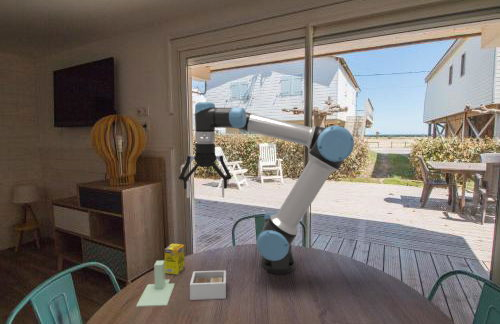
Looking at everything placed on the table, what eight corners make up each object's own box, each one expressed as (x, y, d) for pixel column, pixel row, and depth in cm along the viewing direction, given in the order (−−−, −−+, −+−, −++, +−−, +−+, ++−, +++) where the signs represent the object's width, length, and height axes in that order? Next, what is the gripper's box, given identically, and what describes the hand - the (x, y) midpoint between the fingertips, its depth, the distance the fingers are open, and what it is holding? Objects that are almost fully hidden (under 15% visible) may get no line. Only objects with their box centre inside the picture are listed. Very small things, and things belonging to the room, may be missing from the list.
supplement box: (178, 276, 108) (177, 250, 107) (164, 275, 109) (164, 248, 108) (185, 269, 114) (184, 244, 113) (171, 268, 115) (171, 243, 114)
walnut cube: (207, 288, 98) (207, 278, 98) (206, 294, 95) (206, 284, 94) (196, 288, 98) (196, 278, 98) (195, 295, 94) (195, 284, 94)
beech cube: (222, 288, 99) (222, 277, 99) (221, 294, 95) (221, 283, 95) (211, 288, 99) (211, 277, 98) (210, 294, 95) (210, 283, 94)
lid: (150, 282, 104) (149, 257, 103) (176, 281, 104) (175, 256, 103) (136, 308, 88) (135, 279, 87) (167, 307, 89) (166, 278, 88)
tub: (226, 285, 102) (226, 270, 101) (225, 300, 93) (225, 283, 92) (193, 286, 101) (193, 271, 100) (190, 301, 92) (189, 284, 91)
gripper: (170, 143, 101) (171, 199, 103) (237, 143, 103) (237, 198, 105) (174, 142, 108) (175, 195, 110) (237, 143, 110) (237, 194, 112)
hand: (205, 197), depth 107 cm, fingers open, 13 cm apart
